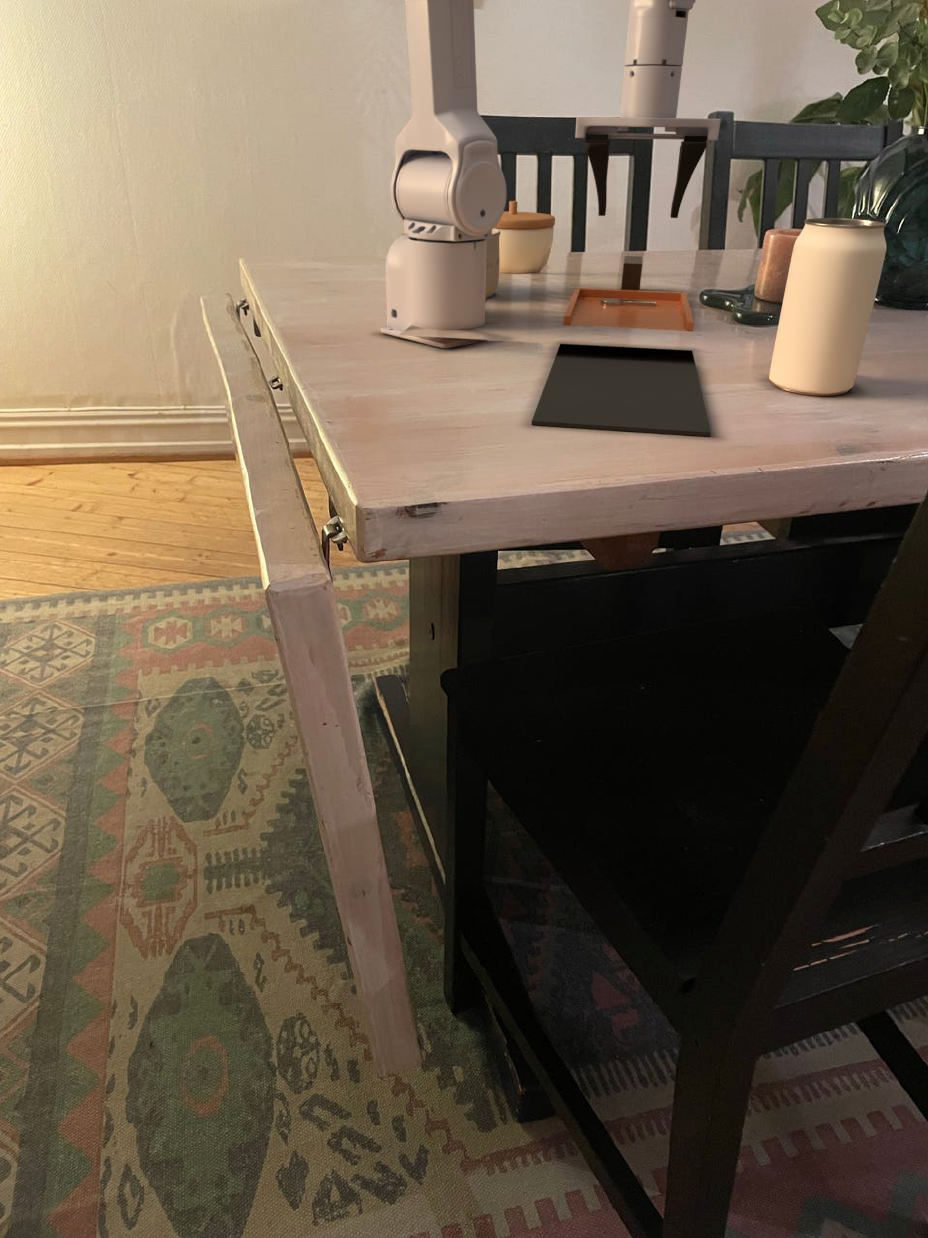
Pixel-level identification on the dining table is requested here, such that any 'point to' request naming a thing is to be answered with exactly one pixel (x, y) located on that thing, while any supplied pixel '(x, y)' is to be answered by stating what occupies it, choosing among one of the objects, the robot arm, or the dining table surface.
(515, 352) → the dining table surface
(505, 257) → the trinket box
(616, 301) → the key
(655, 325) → the dustpan
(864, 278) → the can
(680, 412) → the mat
